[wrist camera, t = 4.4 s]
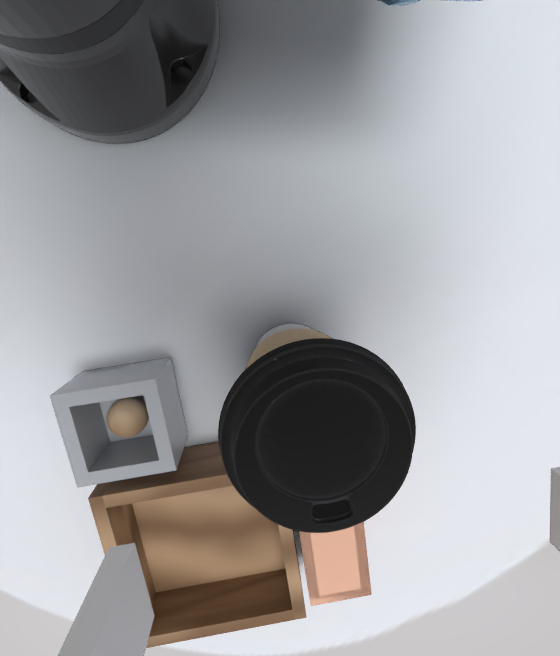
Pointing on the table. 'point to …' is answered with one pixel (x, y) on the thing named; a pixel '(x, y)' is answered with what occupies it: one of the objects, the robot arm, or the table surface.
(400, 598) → the table surface
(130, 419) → the cork ball
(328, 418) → the coffee cup
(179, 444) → the grey tub
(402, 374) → the table surface
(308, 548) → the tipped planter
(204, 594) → the walnut box
